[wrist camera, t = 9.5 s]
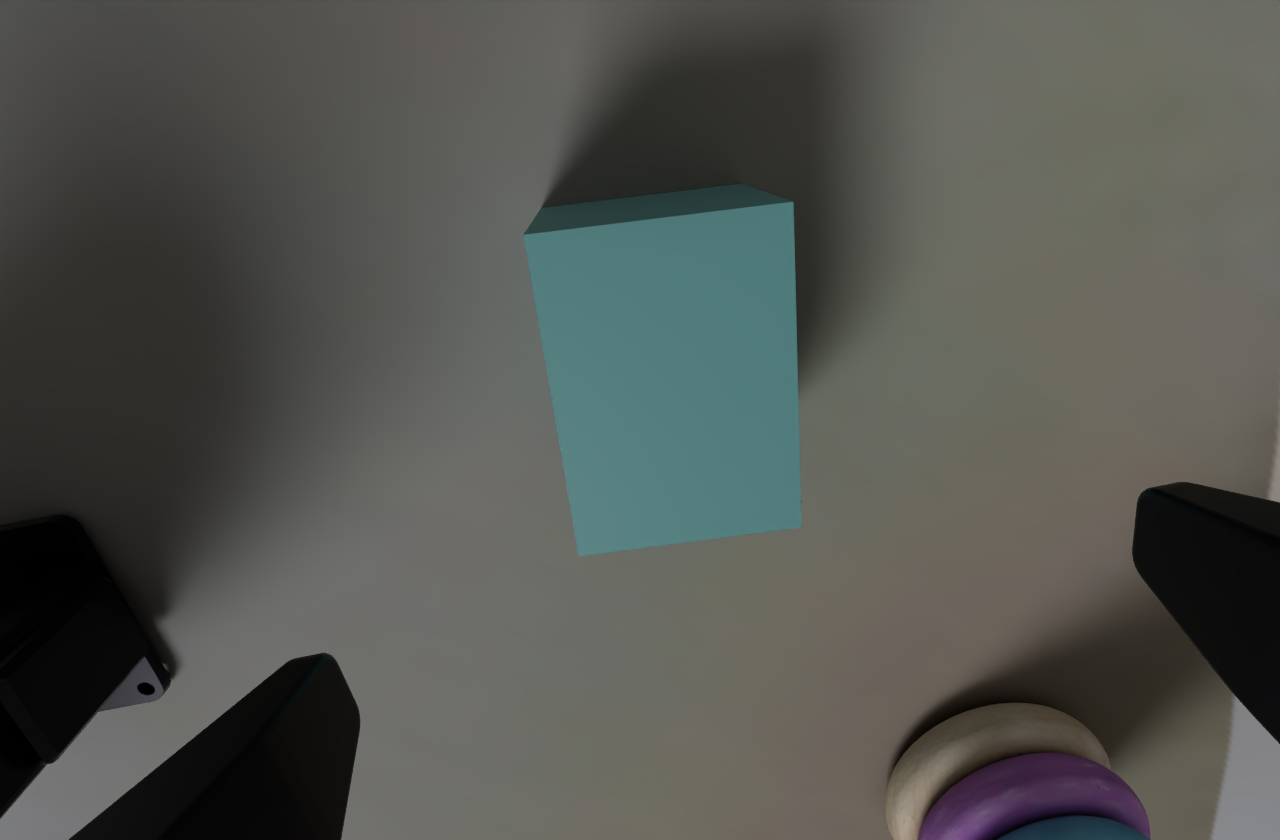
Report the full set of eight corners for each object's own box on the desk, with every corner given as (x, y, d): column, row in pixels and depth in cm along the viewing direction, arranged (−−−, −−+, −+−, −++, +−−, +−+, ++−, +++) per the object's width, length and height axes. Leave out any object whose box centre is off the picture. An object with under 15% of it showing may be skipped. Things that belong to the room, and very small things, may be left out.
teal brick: (581, 458, 20) (578, 556, 15) (541, 207, 17) (523, 234, 13) (753, 436, 20) (801, 527, 16) (740, 182, 17) (793, 201, 13)
